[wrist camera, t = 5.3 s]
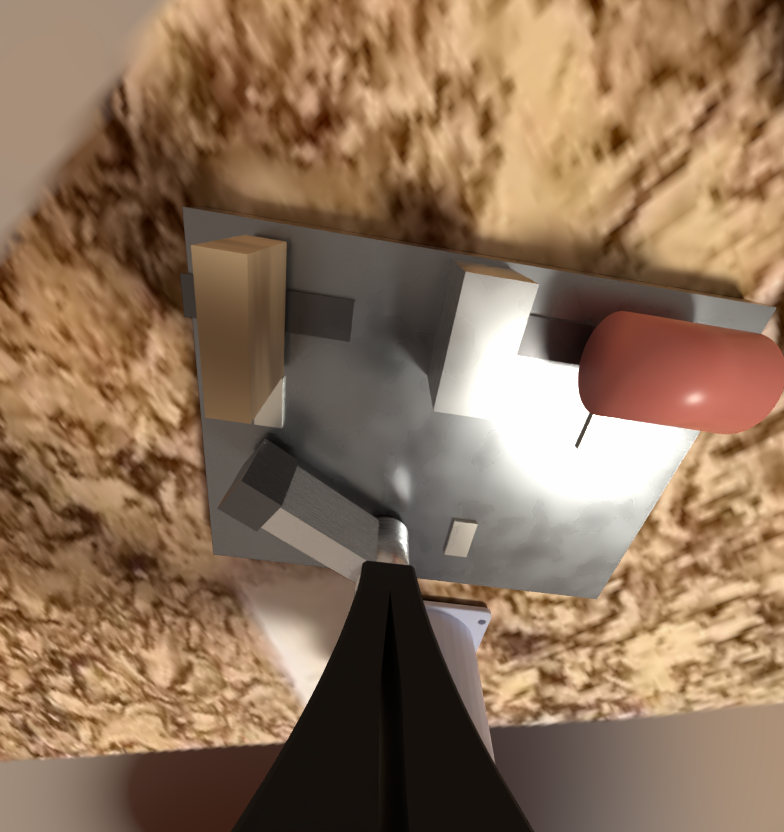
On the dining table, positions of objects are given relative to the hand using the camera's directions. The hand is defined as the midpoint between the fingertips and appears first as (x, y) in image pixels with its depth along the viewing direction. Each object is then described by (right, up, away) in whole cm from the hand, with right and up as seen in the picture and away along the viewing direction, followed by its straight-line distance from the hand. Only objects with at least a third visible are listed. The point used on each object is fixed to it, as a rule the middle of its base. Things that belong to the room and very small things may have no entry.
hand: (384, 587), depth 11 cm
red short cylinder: (+10, +7, +5) cm, 13 cm away
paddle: (-4, +9, +4) cm, 10 cm away
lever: (-3, +1, +8) cm, 9 cm away
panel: (+3, +4, +9) cm, 10 cm away
